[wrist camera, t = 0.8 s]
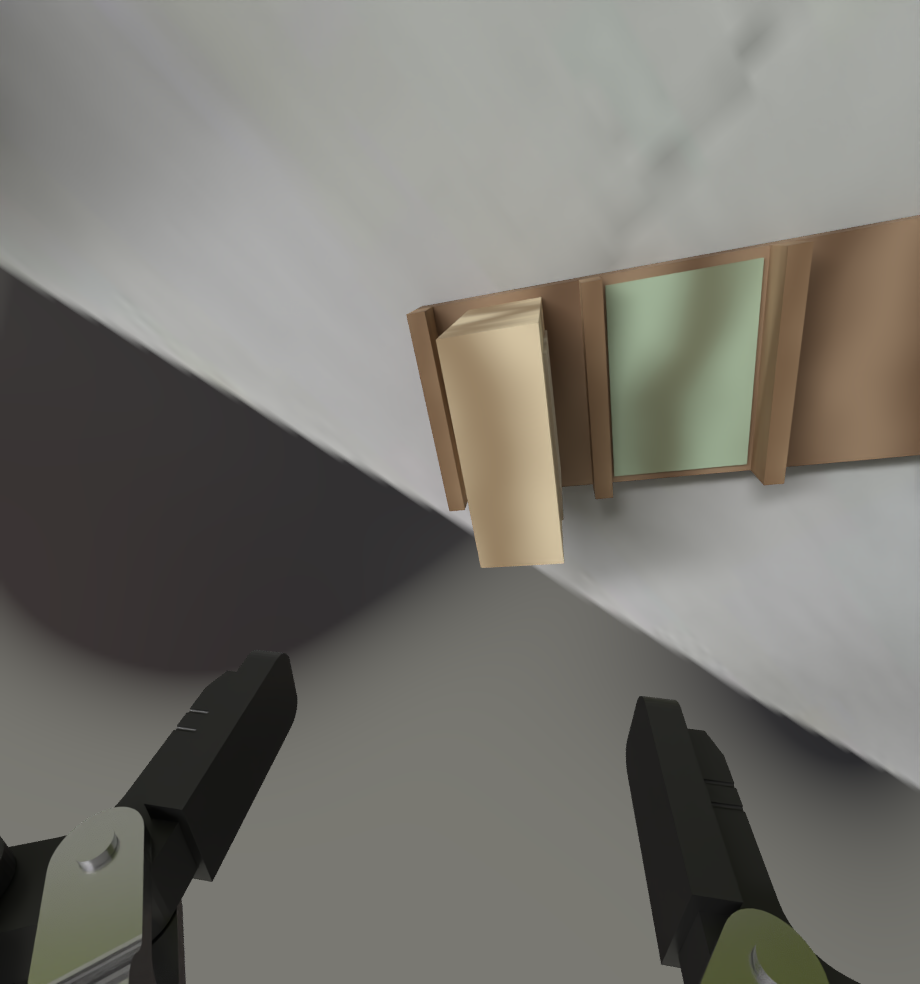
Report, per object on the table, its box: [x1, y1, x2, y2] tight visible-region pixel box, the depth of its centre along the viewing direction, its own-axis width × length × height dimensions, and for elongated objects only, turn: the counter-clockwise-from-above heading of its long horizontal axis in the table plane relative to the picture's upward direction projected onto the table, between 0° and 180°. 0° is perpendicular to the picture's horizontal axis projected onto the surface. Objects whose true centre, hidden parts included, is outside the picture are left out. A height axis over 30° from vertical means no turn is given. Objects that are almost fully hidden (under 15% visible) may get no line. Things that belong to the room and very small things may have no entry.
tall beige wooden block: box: [436, 297, 564, 568], centre depth 25 cm, size 4×11×9 cm, turn 11°
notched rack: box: [407, 215, 920, 511], centre depth 27 cm, size 28×12×4 cm, turn 101°
